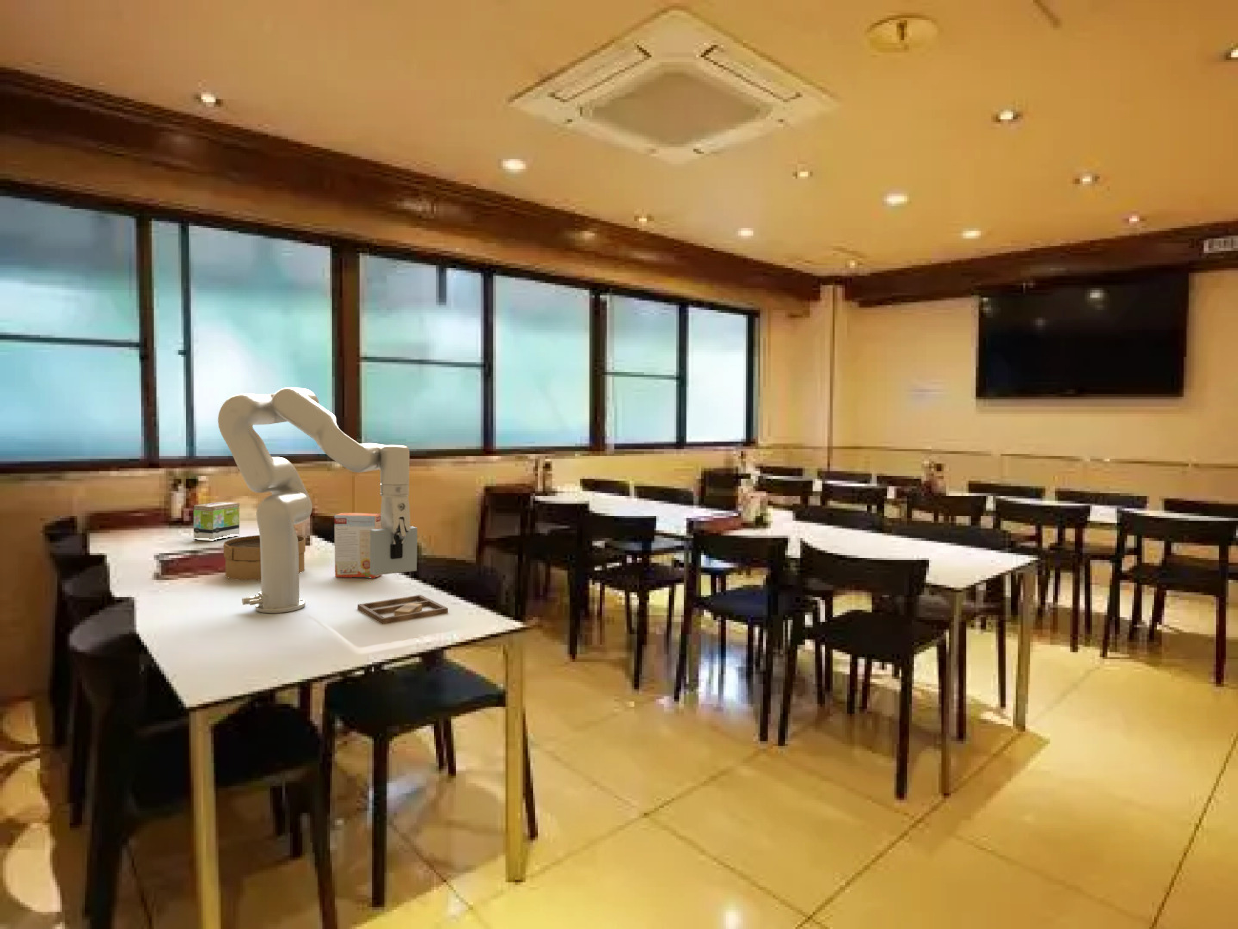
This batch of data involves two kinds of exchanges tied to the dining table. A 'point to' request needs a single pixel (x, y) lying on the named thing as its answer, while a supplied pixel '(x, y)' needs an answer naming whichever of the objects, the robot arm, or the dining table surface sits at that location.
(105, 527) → the dining table surface
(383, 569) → the grey panel
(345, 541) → the cracker box
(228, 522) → the tea box
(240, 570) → the steamer basket
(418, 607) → the upper offcut
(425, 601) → the frame
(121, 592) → the dining table surface
